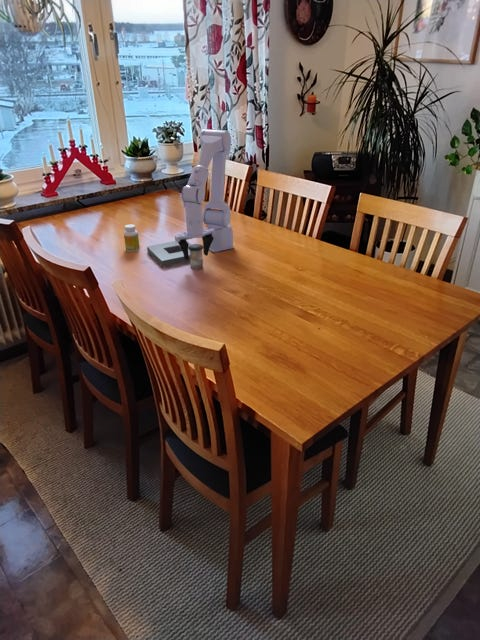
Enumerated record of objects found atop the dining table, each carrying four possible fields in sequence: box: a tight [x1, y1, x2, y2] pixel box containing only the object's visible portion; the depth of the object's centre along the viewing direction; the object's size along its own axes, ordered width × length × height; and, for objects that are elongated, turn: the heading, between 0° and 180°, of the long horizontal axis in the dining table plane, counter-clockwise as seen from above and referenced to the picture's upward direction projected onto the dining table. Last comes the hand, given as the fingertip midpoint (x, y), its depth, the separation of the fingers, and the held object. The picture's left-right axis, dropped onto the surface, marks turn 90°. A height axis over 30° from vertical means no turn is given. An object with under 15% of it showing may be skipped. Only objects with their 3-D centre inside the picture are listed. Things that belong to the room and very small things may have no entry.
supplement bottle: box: [123, 223, 140, 253], centre depth 187 cm, size 5×5×10 cm
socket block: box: [146, 239, 192, 268], centre depth 183 cm, size 16×16×2 cm
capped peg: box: [188, 243, 204, 271], centre depth 173 cm, size 5×5×8 cm
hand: (196, 256), depth 173 cm, fingers open, 7 cm apart
